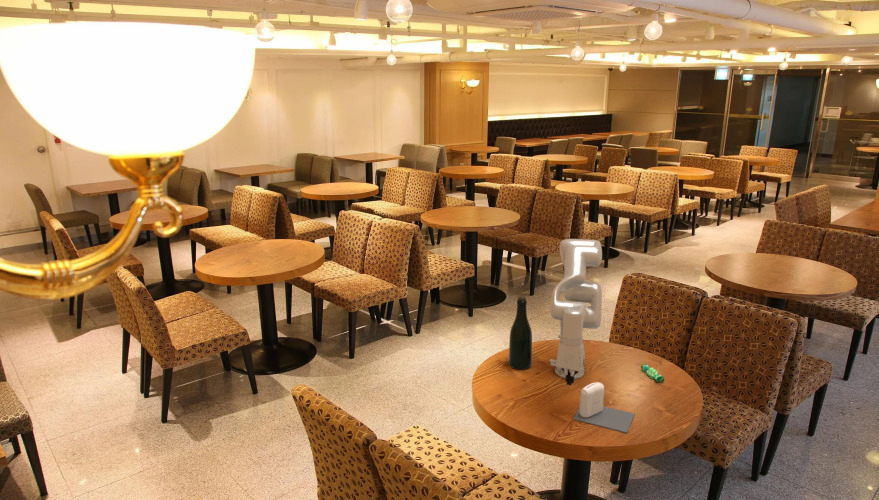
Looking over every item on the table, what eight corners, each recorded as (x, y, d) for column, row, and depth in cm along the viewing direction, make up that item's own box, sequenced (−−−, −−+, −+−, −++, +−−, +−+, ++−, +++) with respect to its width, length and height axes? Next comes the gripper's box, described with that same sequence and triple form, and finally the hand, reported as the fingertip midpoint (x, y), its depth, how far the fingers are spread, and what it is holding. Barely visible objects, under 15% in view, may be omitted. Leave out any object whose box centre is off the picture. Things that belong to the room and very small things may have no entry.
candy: (639, 369, 260) (644, 361, 260) (644, 372, 262) (649, 364, 261) (655, 382, 249) (660, 374, 249) (660, 385, 250) (666, 377, 250)
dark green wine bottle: (504, 366, 266) (505, 298, 257) (515, 357, 275) (516, 291, 265) (525, 372, 261) (527, 303, 251) (535, 363, 269) (538, 295, 260)
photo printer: (595, 406, 232) (597, 378, 229) (604, 411, 229) (606, 382, 225) (577, 414, 227) (579, 385, 223) (585, 419, 223) (587, 390, 220)
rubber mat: (573, 419, 224) (573, 418, 224) (583, 402, 236) (583, 401, 236) (627, 433, 215) (627, 432, 215) (634, 414, 227) (634, 413, 227)
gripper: (549, 339, 224) (547, 383, 228) (588, 347, 217) (586, 392, 221) (555, 333, 230) (553, 375, 235) (594, 340, 223) (591, 384, 228)
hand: (569, 383), depth 228 cm, fingers closed
